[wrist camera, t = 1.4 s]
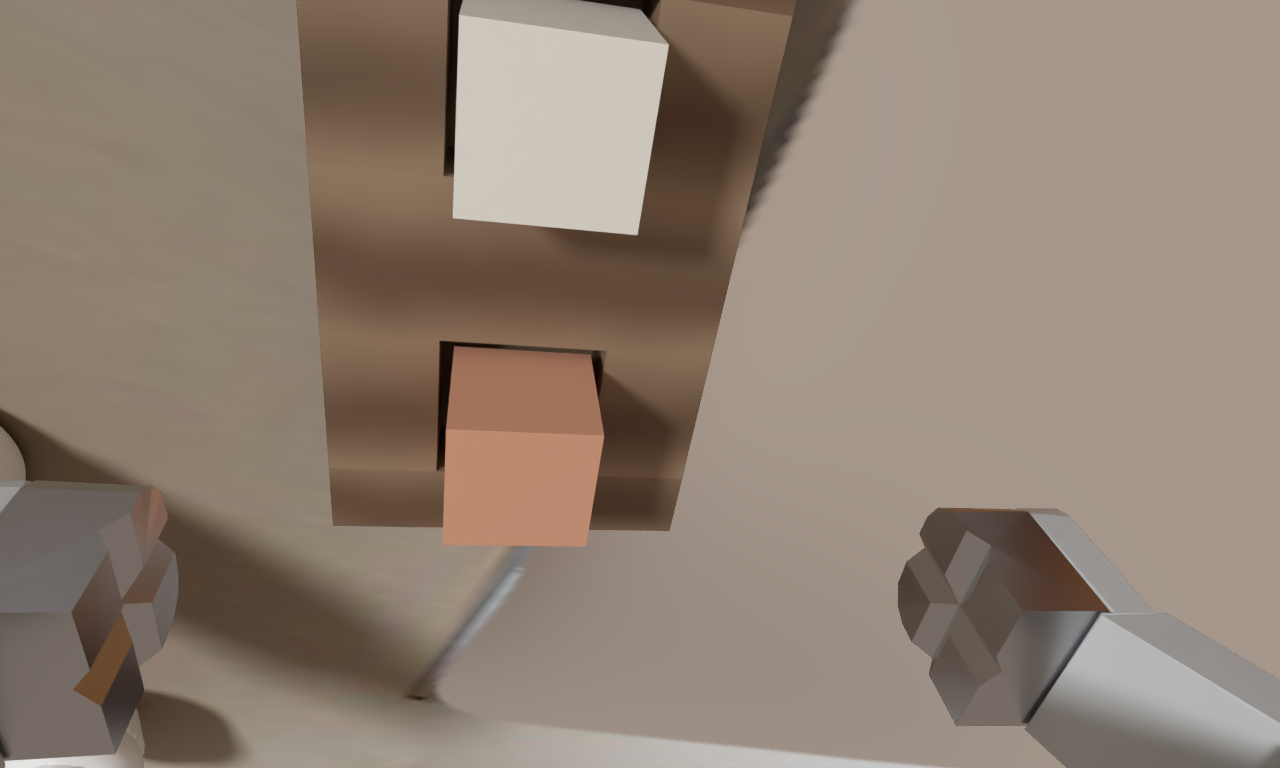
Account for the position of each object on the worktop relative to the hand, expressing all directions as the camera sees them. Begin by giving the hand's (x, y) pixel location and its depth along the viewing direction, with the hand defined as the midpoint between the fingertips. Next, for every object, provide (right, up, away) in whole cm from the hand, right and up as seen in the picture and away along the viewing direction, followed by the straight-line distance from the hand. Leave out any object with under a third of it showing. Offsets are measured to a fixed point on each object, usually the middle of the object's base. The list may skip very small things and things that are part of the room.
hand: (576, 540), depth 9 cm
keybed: (-4, +8, +22) cm, 23 cm away
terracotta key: (-4, +1, +22) cm, 23 cm away
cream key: (-2, +11, +16) cm, 19 cm away
